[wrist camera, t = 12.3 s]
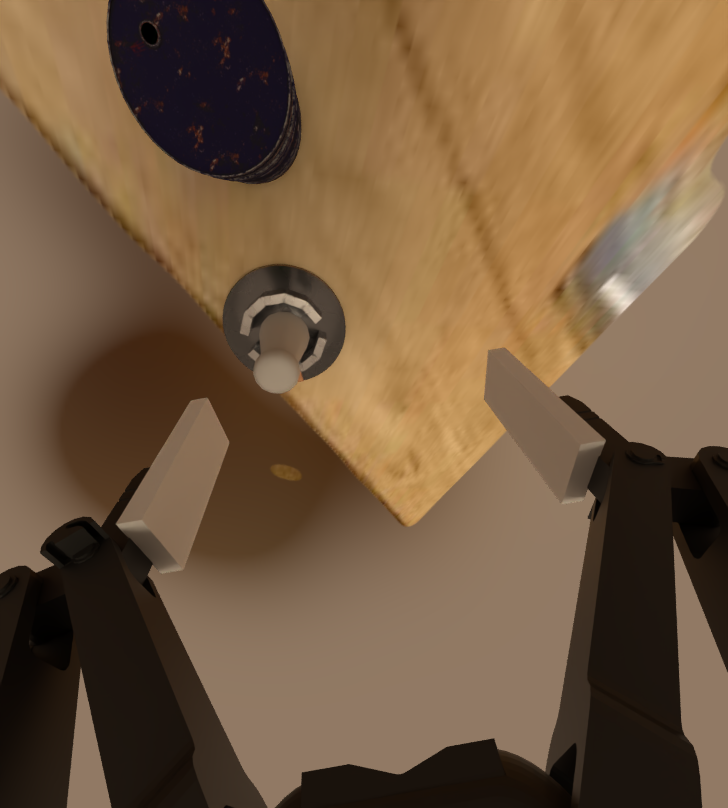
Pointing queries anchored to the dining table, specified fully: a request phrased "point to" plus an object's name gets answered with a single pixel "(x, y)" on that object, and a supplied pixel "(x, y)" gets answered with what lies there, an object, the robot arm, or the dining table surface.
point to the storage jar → (208, 84)
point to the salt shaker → (280, 352)
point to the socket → (286, 294)
